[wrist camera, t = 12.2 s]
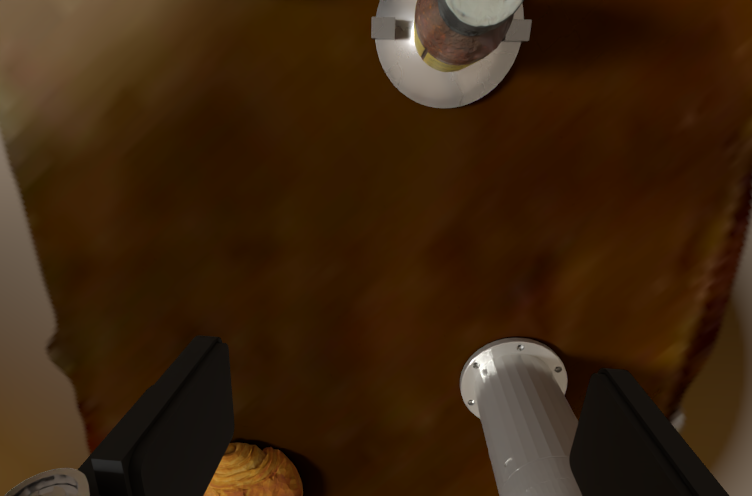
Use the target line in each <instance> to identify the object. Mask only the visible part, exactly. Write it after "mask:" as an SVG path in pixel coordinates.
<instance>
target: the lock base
mask: <svg viewBox="0 0 752 496" xmlns="http://www.w3.org/2000/svg"><path fill="white" fill-rule="evenodd" d="M416 2H417V0H380V2H379V5H378V9H377V14H376V17H372V32H371V38H372V39H375V42H376V48H377V53H378V56H379V60H380V62H381V64H382V67H383V69H384V71H385V73H386V74H387V76H388V78H389V79H390V80H391V82H392V83H393V84H394V86H395V87H396V88H397V89H398V90H399V91H400V92H402V93H403V94H404V95H406V96H407V97H408V98H410V99H412V100H414V101H415V102H417V103H420V104H423V105H425V106H430V107H434V108H454V107H460V106H463V105H467V104H470V103H472V102H474V101H476V100H478V99H480V98H482V97H483V96H485V95H486V94H488V93H489V92H490V91H491V90H493V89H494V88H495V87H496V86H497V85H498V84H499V83H500V82H501V81H502V79H503V78H504V77H505V75H506V74H507V73H508V71H509V70H510V68H511V66H512V65H513V63H514V61H515V58H516V56H517V54H518V51H519V48H520V45H521V42H527V41H529V37H530V30H531V23H532V20H524V11H523V5H522V4H521V6H520V7H519V8H518V10H517V11H516V12H515V13H514V17H513V20H512V23H511V25H510V28H509V30H508V32H507V33H506V35H505V37H504V38H503V40H502V41H501V43H500V44H499V46H498V47H497V49H495V50H494V51H492V52H491V53H490V54H489V55H488V56H486V57H485V58H483V59H481V60H480V61H478V62H476V63H474V64H472V65H470V66H468V67H466V68H464V69H461V70H458V71H454V72H441V71H438V70H435V69H433V68H431V67H430V66H428V65H427V64H426V63H425V62H424V61H423V60H422V58H421V57H420V56H419V54H418V52H417V50H416V47H415V43H414V18H415V7H416Z"/></svg>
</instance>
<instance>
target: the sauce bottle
mask: <svg viewBox="0 0 752 496" xmlns="http://www.w3.org/2000/svg"><path fill="white" fill-rule="evenodd" d="M523 1H524V0H417V2H416V7H415V18H414V43H415V47H416V50H417V52H418V54H419V56H420V57H421V58H422V60H423V61H424V62H425V63H426V64H427V65H428V66H430V67H431V68H433V69H435V70H438V71H441V72H454V71H458V70H461V69H464V68H466V67H468V66H470V65H472V64H474V63H476V62H478V61H480V60H481V59H483V58H485V57H486V56H488V55H489V54H490V53H491V52H492V51H494V50H495V49H497V47H498V46H499V44H500V43H501V41H502V40H503V38H504V37H505V35H506V33H507V32H508V30H509V28H510V25H511V23H512V20H513V17H514V13H515V12H516V11H517V10H518V8H519V7H520V6H521V4H522V2H523Z"/></svg>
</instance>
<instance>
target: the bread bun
mask: <svg viewBox="0 0 752 496" xmlns="http://www.w3.org/2000/svg"><path fill="white" fill-rule="evenodd" d="M204 496H303V486H302V481H301V478H300V475H299V473H298V471H297V469H296V467H295V466H294V464H293V463H292V462H291V461H290V460H289V459H288V458H287V457H286V455H285V454H284V453H282V452H281V451H280V450H279V449H277V450H276V449H275V450H274V449H273V448H272V447H266V448H264V449H263V451H262V450H261V449H259V448H258V447H257V446H256V445H249V444H247V443H238V442H236V443H229V445H228V447H227V449H226V452H225V454H224V456H223V458H222V460H221V462H220V464H219V466H218V468H217V470H216V472H215V474H214V476H213V478H212V480H211V482H210V484H209V486H208V488H207V490H206V492H205V494H204Z"/></svg>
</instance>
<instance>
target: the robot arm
mask: <svg viewBox="0 0 752 496" xmlns="http://www.w3.org/2000/svg"><path fill="white" fill-rule="evenodd" d="M567 382H568V379H567V372H566V370H565V367H564V365H563V363H562V361H561V360H560V358H559V356H558V355H557V354H556V353H555V352H554V351H553V350H552V349H551V348H549V347H548V346H546V345H545V344H543V343H540V342H538V341H535V340H532V339H528V338H517V337H516V338H505V339H501V340H497V341H494V342H492V343H489V344H487V345H485V346H484V347H482V348H480V349H479V350H477V351H476V352H475V353H474V354H473V355H472V356H471V357H470V358H469V360H468V361H467V362H466V363H465V366H464V368H463V370H462V372H461V377H460V389H461V395H462V398H463V400H464V403H465V404H466V406H467V407H468V409H469V410H470V411H471V412H472V413H473V414H474V415H475V416H477V417H478V418H480V419H481V422H482V426H483V430H484V435H485V439H486V443H487V447H488V451H489V456H490V459H491V463H492V467H493V471H494V475H495V479H496V483H497V488H498V492H499V496H729V495H728V494H727V492H726V491H725V490H724V489H723V487H722V486H721V485H720V484H719V483H718V481H717V480H716V479H715V478H714V476H713V475H712V474H711V473H710V472H709V470H708V469H707V468H706V466H705V465H704V464H703V463H702V462H701V460H700V459H699V458H698V457H697V455H696V454H695V453H694V452H693V450H692V449H691V448H690V447H689V445H688V444H687V443H686V442H685V440H684V439H683V438H682V437H681V435H680V434H679V433H678V432H677V431H676V429H675V428H674V427H673V426H672V424H671V423H670V422H669V421H668V419H667V418H666V417H665V416H664V414H663V413H662V412H661V411H660V410H659V408H658V407H657V406H656V405H655V403H654V402H653V401H652V400H651V398H650V397H649V396H648V395H647V393H646V392H645V391H644V390H643V388H642V387H641V386H640V385H639V384H638V382H637V381H636V380H635V379H634V377H633V376H632V375H631V374H630V373H629V372H628V371H627V370H620V369H608V368H602V369H600V370H599V371H598V374H597V373H594V374H593V375H592V376H591V378H590V382H589V385H588V389H587V393H586V396H585V400H584V404H583V407H582V411H581V415H580V418H579V422H578V420H577V418H576V417H575V415H574V413H573V411H572V409H571V407H570V405H569V403H568V401H567V400H566V398H565V396H564V395H565V392H566V389H567ZM233 432H234V414H233V401H232V389H231V376H230V363H229V350H228V345H227V344H226V343H222V340H221V338H219V337H211V336H196V337H195V338H194V339H193V340H192V341H191V342H190V344H189V345H188V346H187V347H186V348H185V349H184V351H183V352H182V353H181V354H180V355H179V356H178V358H177V359H176V360H175V361H174V362H173V363H172V365H171V366H170V367H169V368H168V369H167V370H166V372H165V373H164V374H163V375H162V376H161V377H160V379H159V380H158V381H157V382H156V383H155V384H154V385H152V386H151V387H150V388H149V389H147V390H146V392H145V393H144V394H143V395H142V396H141V397H140V398H139V400H138V401H137V402H136V403H135V404H134V405H133V407H132V408H131V409H130V410H129V411H128V412H127V413H126V415H125V416H124V417H123V418H122V419H121V420H120V422H119V423H118V424H117V425H116V426H115V427H114V428H113V430H112V431H111V432H110V433H109V434H108V435H107V437H106V438H105V439H104V440H103V441H102V442H101V443H100V445H99V446H98V447H97V448H96V449H95V450H94V452H93V453H92V454H91V455H90V456H89V457H88V458H87V460H86V461H85V462H84V463H83V464H82V465H81V467H80V468H79V469H78V470H76V469H71V468H61V469H53V470H49V471H46V472H42V473H40V474H37V475H35V476H33V477H31V478H29V479H26V480H25V481H23V482H22V483H20V484H19V485H17V486H16V487H14V488H13V489H11V490H10V491H9V492H8V493H7V494H6V495H5V496H204V494H205V492H206V490H207V488H208V486H209V484H210V482H211V480H212V478H213V476H214V474H215V472H216V470H217V468H218V466H219V464H220V462H221V460H222V458H223V456H224V454H225V452H226V449H227V447H228V445H229V443H230V441H231V439H232V436H233Z"/></svg>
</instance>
